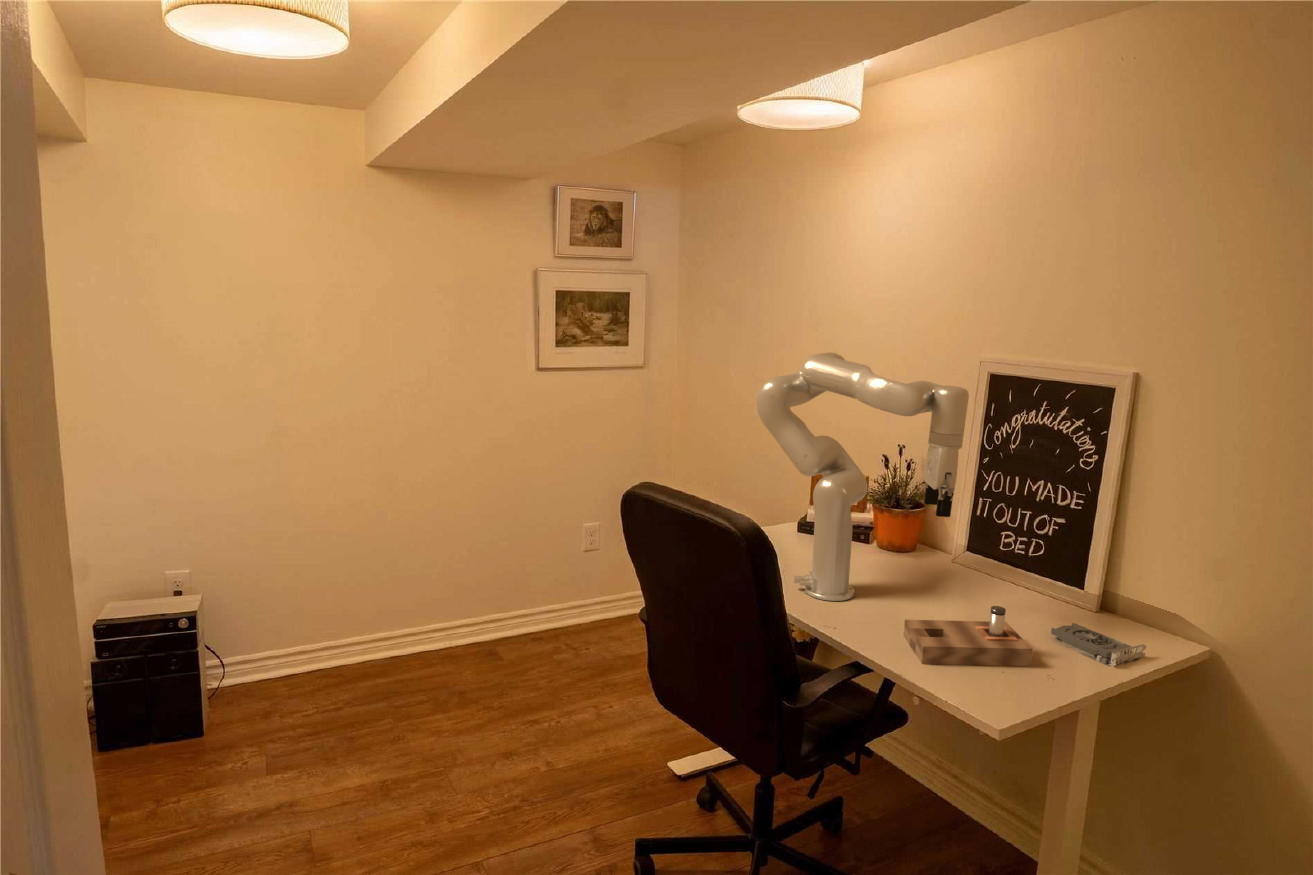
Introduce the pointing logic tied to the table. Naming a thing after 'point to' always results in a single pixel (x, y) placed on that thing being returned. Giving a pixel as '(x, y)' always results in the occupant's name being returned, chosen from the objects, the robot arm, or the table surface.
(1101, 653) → the graphics card
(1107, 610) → the table surface
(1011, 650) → the pin board
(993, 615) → the lock pin
